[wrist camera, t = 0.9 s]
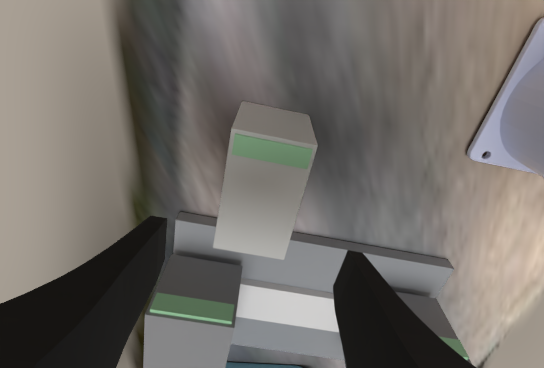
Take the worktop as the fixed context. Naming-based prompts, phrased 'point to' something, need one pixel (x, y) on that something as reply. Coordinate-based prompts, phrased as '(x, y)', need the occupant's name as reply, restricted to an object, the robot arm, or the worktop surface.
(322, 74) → the worktop surface
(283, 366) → the data package
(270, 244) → the module
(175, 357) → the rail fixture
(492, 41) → the worktop surface
